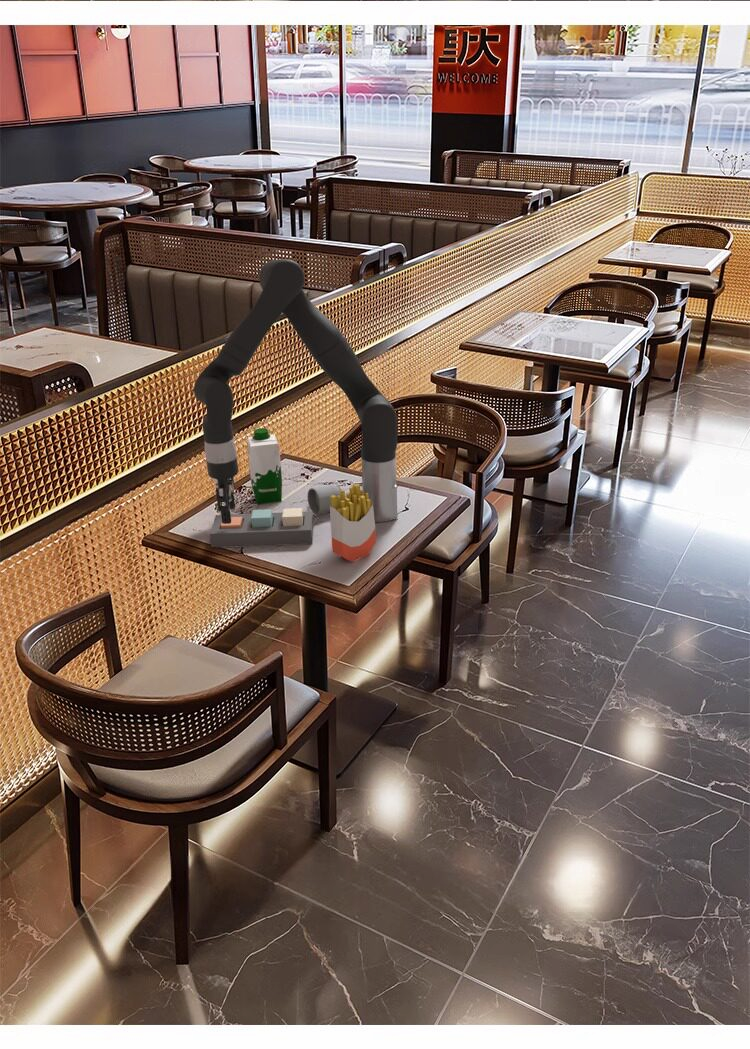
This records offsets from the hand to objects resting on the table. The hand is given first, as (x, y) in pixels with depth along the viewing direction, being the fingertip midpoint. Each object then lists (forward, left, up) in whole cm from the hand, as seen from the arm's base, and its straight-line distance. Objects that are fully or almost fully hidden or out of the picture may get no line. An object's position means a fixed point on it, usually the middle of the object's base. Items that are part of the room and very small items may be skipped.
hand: (229, 515), depth 218 cm
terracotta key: (0, -5, -7) cm, 9 cm away
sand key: (-16, -5, -5) cm, 17 cm away
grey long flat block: (-8, -5, -9) cm, 12 cm away
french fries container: (-32, +8, -9) cm, 34 cm away
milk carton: (-7, -29, -9) cm, 31 cm away
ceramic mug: (-23, -20, -9) cm, 32 cm away
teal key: (-8, -5, -5) cm, 10 cm away
